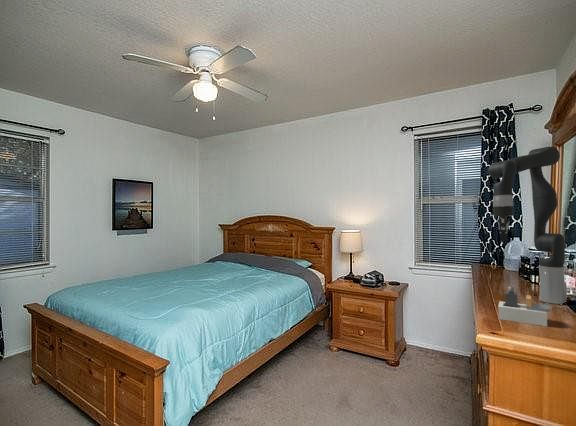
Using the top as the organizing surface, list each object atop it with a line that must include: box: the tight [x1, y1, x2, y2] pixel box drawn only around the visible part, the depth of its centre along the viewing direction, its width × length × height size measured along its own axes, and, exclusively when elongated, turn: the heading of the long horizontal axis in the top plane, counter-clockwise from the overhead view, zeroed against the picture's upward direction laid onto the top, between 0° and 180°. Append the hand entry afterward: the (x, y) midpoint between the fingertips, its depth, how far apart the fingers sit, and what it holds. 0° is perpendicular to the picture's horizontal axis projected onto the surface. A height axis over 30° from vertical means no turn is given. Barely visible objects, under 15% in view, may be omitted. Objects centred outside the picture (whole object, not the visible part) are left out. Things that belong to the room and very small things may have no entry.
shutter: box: [525, 294, 551, 313], centre depth 120 cm, size 7×7×4 cm
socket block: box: [498, 300, 548, 327], centre depth 123 cm, size 10×15×5 cm, turn 53°
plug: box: [504, 286, 519, 308], centre depth 125 cm, size 4×4×12 cm
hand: (504, 241), depth 138 cm, fingers open, 8 cm apart
